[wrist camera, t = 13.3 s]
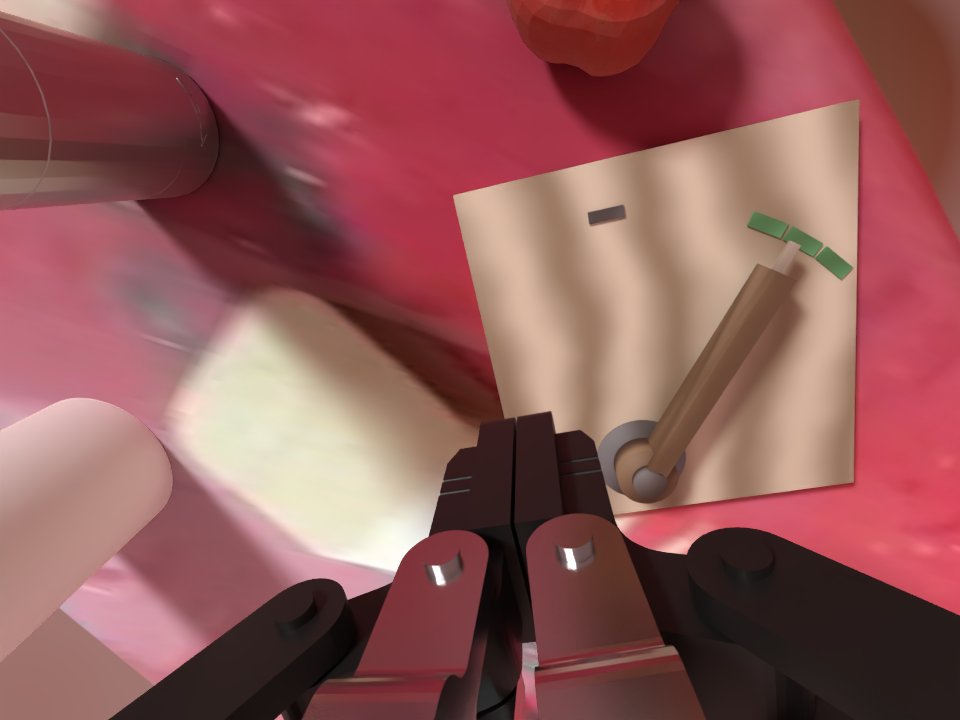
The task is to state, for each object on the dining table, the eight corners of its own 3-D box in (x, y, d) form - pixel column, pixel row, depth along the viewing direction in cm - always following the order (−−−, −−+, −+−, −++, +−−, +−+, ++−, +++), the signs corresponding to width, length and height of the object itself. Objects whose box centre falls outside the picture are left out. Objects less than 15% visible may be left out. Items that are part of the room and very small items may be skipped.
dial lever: (603, 473, 42) (609, 496, 39) (753, 225, 34) (775, 231, 31) (652, 493, 42) (662, 518, 39) (811, 252, 35) (838, 260, 32)
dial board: (529, 515, 46) (529, 527, 45) (455, 194, 37) (452, 195, 35) (842, 471, 42) (855, 483, 41) (845, 102, 33) (861, 98, 32)
